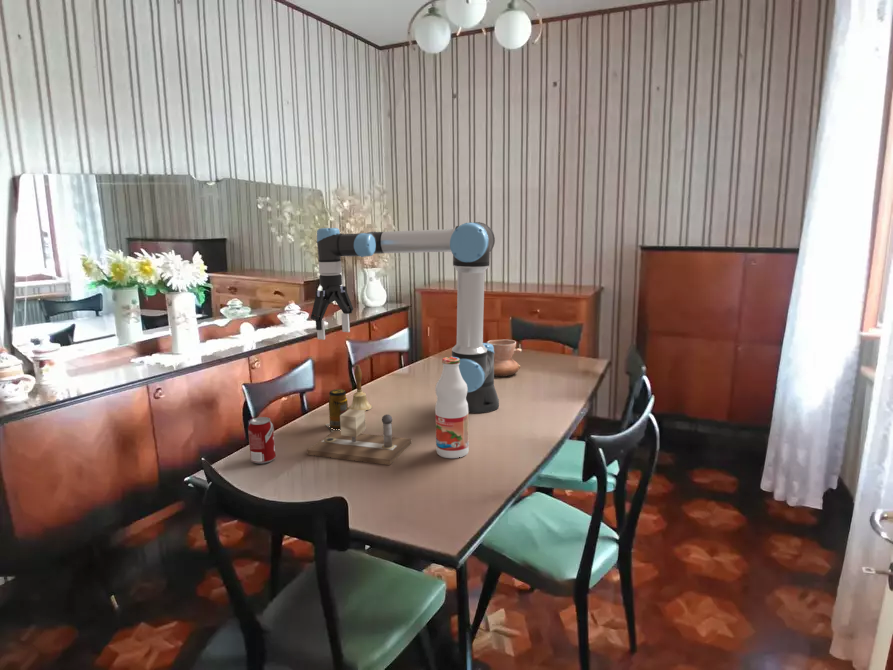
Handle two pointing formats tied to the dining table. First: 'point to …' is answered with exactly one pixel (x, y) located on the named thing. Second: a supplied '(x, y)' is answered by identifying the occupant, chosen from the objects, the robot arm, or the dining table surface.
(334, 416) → the condiment
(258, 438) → the soda can
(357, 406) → the hand bell
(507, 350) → the ceramic jug
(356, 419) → the leg
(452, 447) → the fruit juice
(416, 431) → the dining table surface
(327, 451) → the hole plate
